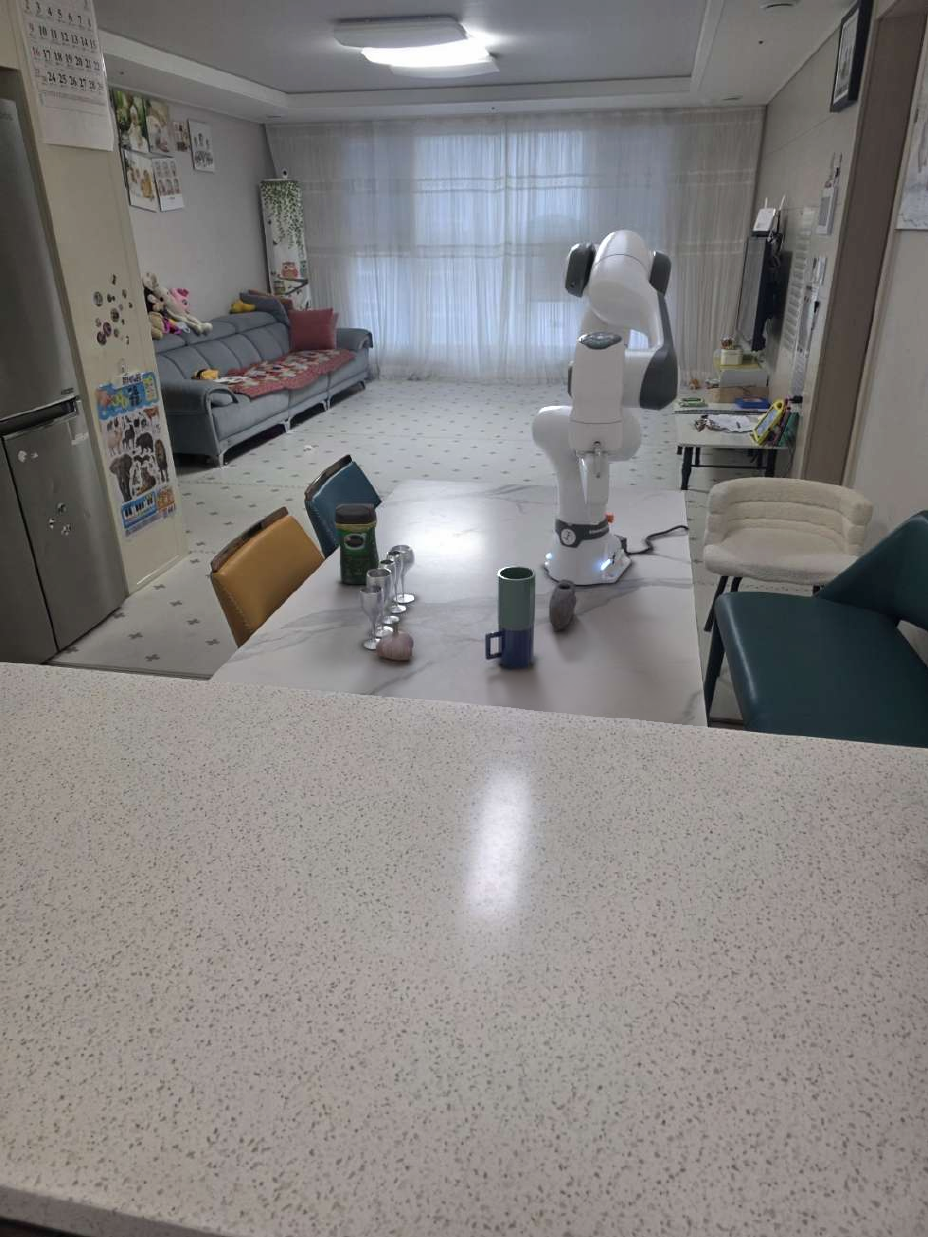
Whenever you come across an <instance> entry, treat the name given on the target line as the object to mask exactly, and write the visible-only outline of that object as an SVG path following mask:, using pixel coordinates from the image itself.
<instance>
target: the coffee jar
mask: <svg viewBox="0 0 928 1237" xmlns="http://www.w3.org/2000/svg"><path fill="white" fill-rule="evenodd" d="M335 508H336V509H335V512H334V526H335V528H336V530H337V534H338V539H339V540H338V541H339V578H340V581H341V582H342V583H343V584H348V585H364V584H365V585H367V583H366V580H367V573H368V572H369V571H371V570H374V569H378V566H379V561H380V557H379V551H378V546H377V539H376V527H377V524H378V516H377V512H376V507H375V505H374V503H371V502H370V503H339V504H338V505H337V506H336V507H335Z"/></svg>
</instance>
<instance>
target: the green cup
mask: <svg viewBox="0 0 928 1237" xmlns="http://www.w3.org/2000/svg"><path fill="white" fill-rule="evenodd" d="M496 575H497V582H496V583H497V586H496V587H497V589H496V590H497V592H496V593H497V594H496V596H497V603H496V604H497V625H499V626H500V627H502V628H504V629H507V630H514V631H519V630H526V629H529V628H531V627H532V626H533V625H534V626H535V619H536V572H535V570H534V569H532V568H530V567H527V566H518V565H515V566H512V565H511V566H506V567H503V568H501V569H499V570H498V571H497V574H496Z"/></svg>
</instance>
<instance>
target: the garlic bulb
mask: <svg viewBox="0 0 928 1237" xmlns="http://www.w3.org/2000/svg"><path fill="white" fill-rule="evenodd" d="M398 623H399V621H397V620H392V624H391V626H392V627H391V628H392V629H393V633H391V634H388V635H385V636H383V637H379V639H380V640H379V641H378V643H377V645H376V649H375V652H376V654H377V655H378V656H379V657H383V658H385V659H390V660H396V661H408V660H410V659H411V658H412V656H413V648H414V638H413V637H412V635H410V634H409V633H407V632H405V631H402V630H399V624H398Z"/></svg>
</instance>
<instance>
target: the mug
mask: <svg viewBox="0 0 928 1237" xmlns="http://www.w3.org/2000/svg"><path fill="white" fill-rule="evenodd" d="M497 625H498V624H497ZM497 628H498V630H497V631H492V632H488V633H485V636H484V644H485V645H484V649H485V653H484V654H485V656H484V658H485V659H486V660H487V661H489V660H494V659H497V660H498V663H499V664H500V665H501V666H502V667H504V668H506V669H507V668H508V669H512V670H513V669H514V670H515V669H516V670H518V669H525V668H529V666H531V665H533V663H534V644H535V643H534V642H535V641H534V640H535V632H534V631H535V624H534V625H533V626H532V627H531V628H529V629H526V630H519V631H514V630H507V629H504V628H502V627H500V626H499V625H498V627H497ZM495 638H497V643H498V644H497V650H498V651H497V652H493V653H492V652H491V650H492V648H491V647H492V646H491V644H492V642H491V641H492V640H491V639H495Z"/></svg>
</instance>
